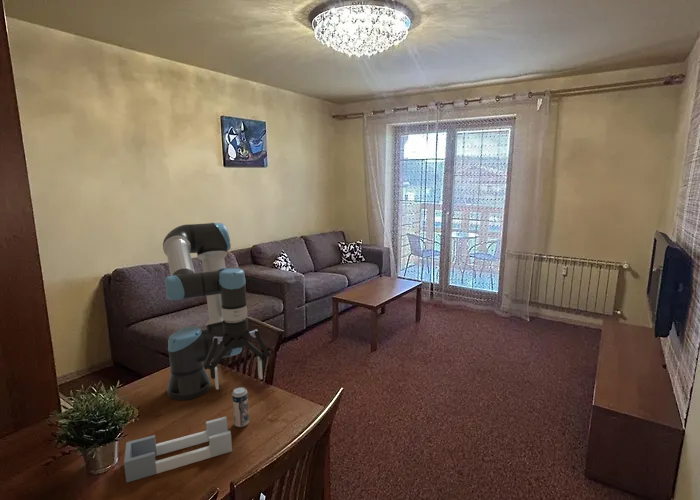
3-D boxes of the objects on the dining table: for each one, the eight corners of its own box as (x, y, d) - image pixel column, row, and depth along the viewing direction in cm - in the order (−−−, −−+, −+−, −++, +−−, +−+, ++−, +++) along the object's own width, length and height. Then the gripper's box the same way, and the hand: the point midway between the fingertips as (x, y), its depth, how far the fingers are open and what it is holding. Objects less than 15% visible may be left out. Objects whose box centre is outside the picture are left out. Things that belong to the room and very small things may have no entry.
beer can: (245, 429, 125) (243, 395, 122) (231, 427, 126) (229, 393, 123) (251, 420, 129) (249, 387, 127) (238, 418, 130) (236, 385, 128)
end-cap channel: (128, 460, 111) (126, 442, 110) (227, 433, 123) (226, 416, 121) (126, 482, 103) (123, 462, 102) (232, 451, 115) (230, 433, 114)
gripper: (192, 330, 112) (198, 397, 116) (277, 316, 122) (280, 378, 126) (190, 321, 119) (196, 385, 122) (271, 309, 129) (274, 368, 133)
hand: (239, 382), depth 124 cm, fingers open, 13 cm apart
